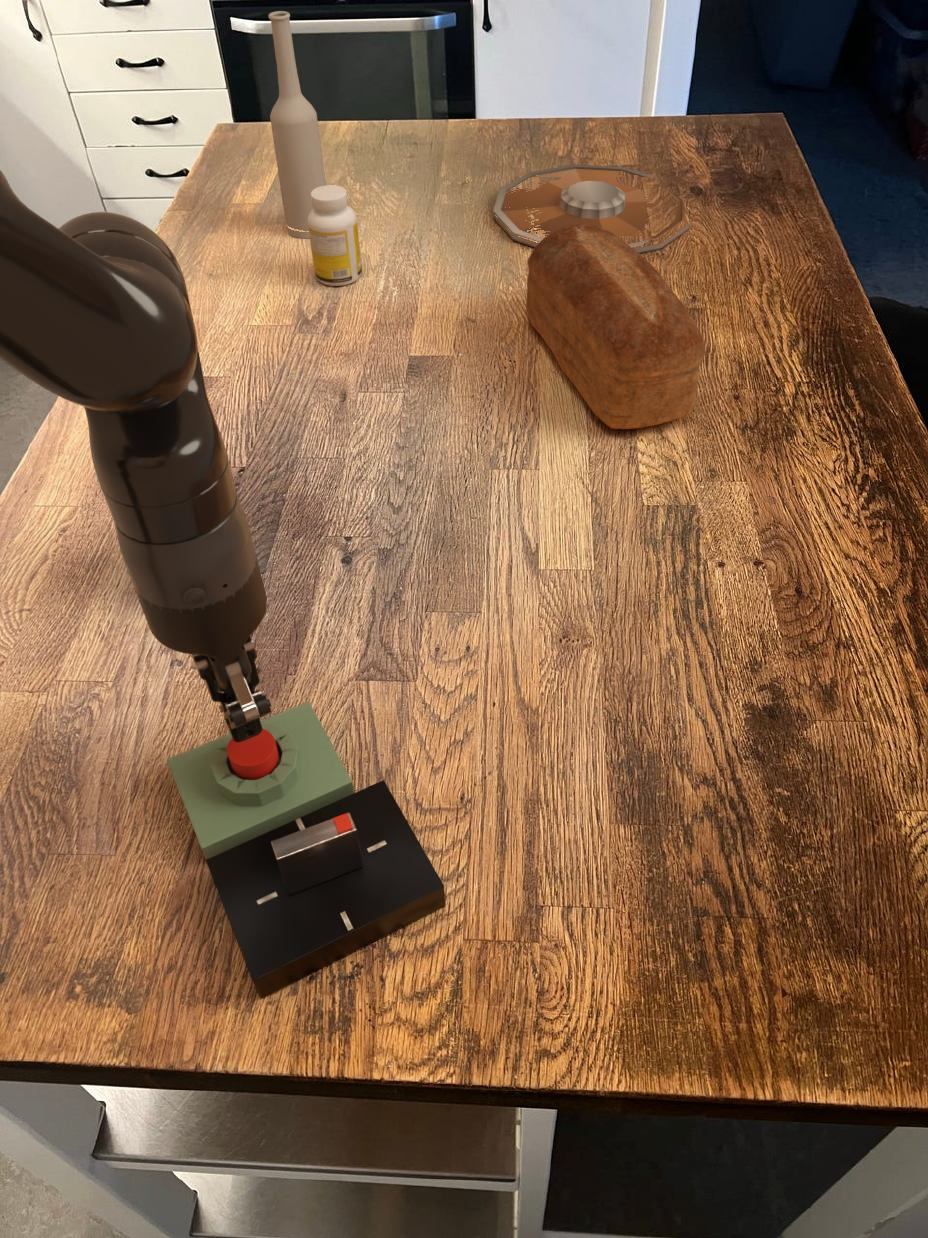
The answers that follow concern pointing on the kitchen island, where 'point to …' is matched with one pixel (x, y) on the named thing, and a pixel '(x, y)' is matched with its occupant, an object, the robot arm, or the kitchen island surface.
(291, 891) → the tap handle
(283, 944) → the base
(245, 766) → the button
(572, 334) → the bread
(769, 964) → the kitchen island surface
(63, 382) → the robot arm
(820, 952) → the kitchen island surface
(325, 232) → the pill bottle
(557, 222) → the shield
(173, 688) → the kitchen island surface
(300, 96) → the bottle
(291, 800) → the block
